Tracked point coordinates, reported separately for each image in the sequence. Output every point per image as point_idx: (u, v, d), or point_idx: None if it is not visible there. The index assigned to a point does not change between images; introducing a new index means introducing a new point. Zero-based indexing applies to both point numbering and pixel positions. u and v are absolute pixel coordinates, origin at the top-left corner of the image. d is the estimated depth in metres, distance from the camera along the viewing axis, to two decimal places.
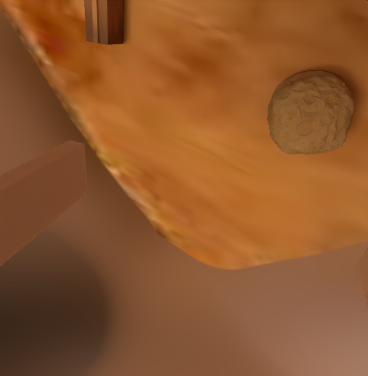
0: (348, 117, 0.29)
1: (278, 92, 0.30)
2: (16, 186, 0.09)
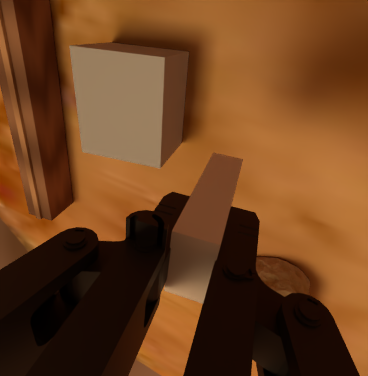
0: None
1: None
2: None
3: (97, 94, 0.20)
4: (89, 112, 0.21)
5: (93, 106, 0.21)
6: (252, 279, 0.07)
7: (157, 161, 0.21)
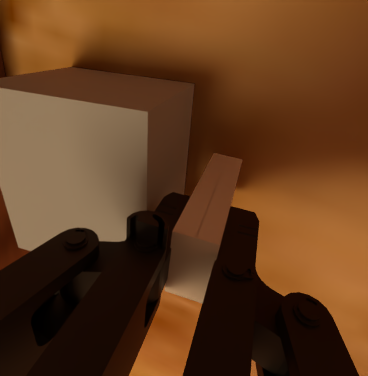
0: None
1: None
2: None
3: (29, 168, 0.11)
4: (20, 193, 0.12)
5: (25, 186, 0.12)
6: (252, 279, 0.07)
7: None
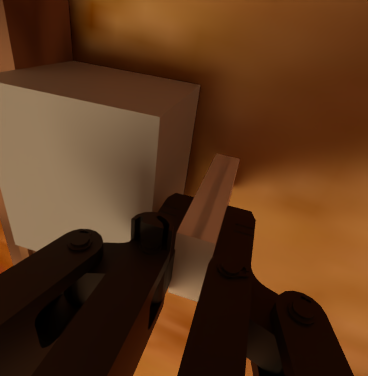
0: None
1: None
2: None
3: (31, 166, 0.11)
4: (21, 191, 0.12)
5: (27, 184, 0.11)
6: (246, 277, 0.07)
7: None
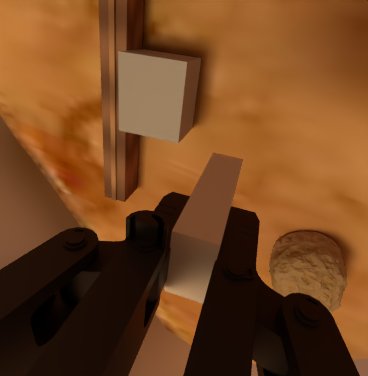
0: (342, 291, 0.32)
1: (279, 260, 0.34)
2: None
3: (135, 87, 0.28)
4: (127, 100, 0.29)
5: (131, 95, 0.28)
6: (252, 279, 0.07)
7: (176, 137, 0.29)
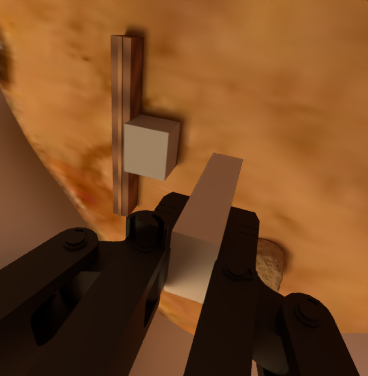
0: (278, 281, 0.47)
1: None
2: None
3: (135, 145, 0.42)
4: (130, 152, 0.43)
5: (132, 150, 0.43)
6: (252, 279, 0.07)
7: (163, 177, 0.43)
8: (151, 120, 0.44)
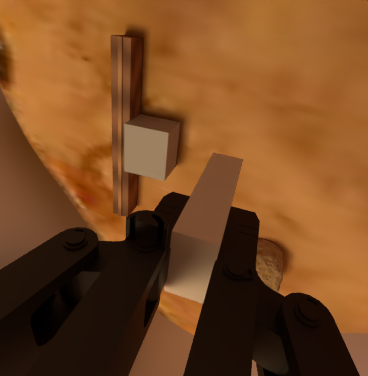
0: (278, 281, 0.47)
1: None
2: None
3: (135, 145, 0.42)
4: (130, 152, 0.43)
5: (132, 150, 0.43)
6: (252, 279, 0.07)
7: (163, 177, 0.43)
8: (151, 120, 0.44)
